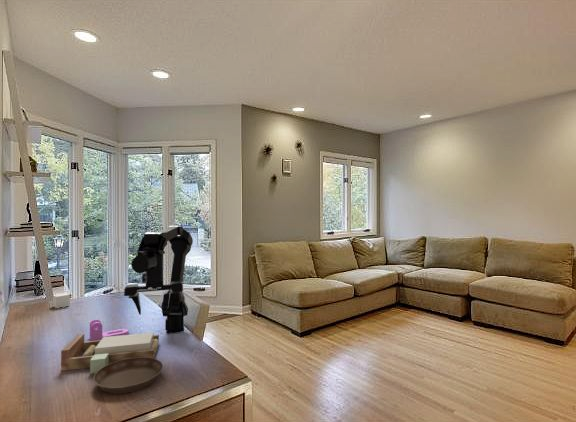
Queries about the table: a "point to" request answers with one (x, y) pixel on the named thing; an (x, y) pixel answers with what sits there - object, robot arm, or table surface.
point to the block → (98, 362)
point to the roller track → (78, 346)
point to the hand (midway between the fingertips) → (154, 313)
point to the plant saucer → (128, 375)
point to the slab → (125, 343)
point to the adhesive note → (61, 300)
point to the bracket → (98, 334)
